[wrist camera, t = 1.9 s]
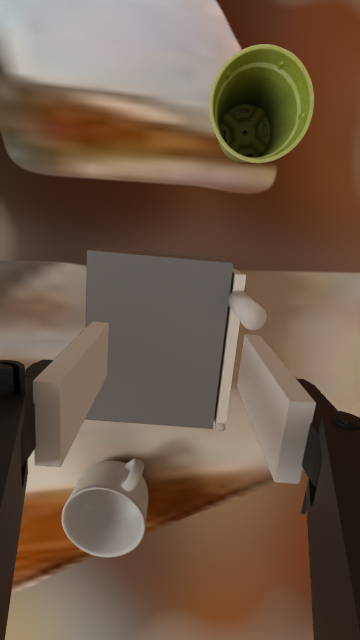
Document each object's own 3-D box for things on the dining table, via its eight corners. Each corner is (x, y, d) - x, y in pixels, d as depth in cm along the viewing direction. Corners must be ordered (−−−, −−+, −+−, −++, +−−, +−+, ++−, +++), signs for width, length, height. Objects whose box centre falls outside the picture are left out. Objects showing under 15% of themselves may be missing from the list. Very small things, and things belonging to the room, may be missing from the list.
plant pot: (209, 185, 39) (218, 171, 31) (196, 97, 37) (201, 56, 28) (287, 169, 39) (318, 151, 30) (279, 79, 36) (309, 32, 28)
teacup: (118, 521, 51) (108, 572, 43) (64, 481, 49) (42, 527, 42) (179, 465, 49) (180, 509, 41) (124, 421, 47) (114, 457, 39)
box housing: (104, 380, 45) (84, 419, 35) (108, 246, 41) (86, 250, 31) (205, 387, 45) (212, 428, 36) (220, 256, 41) (233, 263, 31)
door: (203, 389, 45) (218, 476, 29) (218, 265, 41) (245, 284, 24) (218, 390, 45) (241, 478, 29) (234, 266, 41) (271, 286, 24)
